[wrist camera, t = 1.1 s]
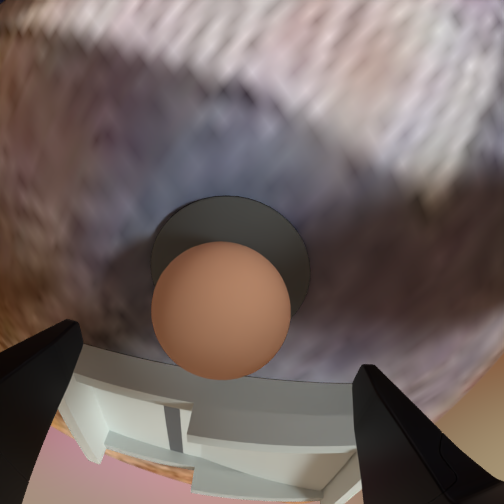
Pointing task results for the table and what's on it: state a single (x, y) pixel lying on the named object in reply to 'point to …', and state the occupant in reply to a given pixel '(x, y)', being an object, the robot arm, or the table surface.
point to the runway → (217, 428)
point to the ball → (221, 310)
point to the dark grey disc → (237, 238)
